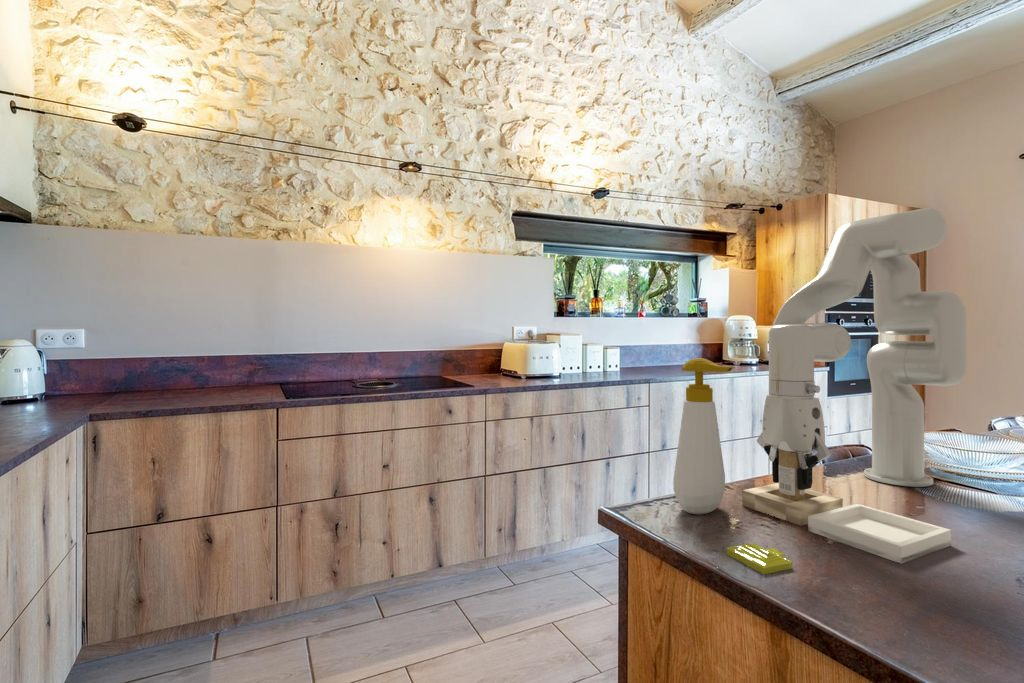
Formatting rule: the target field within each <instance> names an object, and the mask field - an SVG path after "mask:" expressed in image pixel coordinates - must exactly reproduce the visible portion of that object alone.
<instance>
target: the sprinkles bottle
mask: <svg viewBox="0 0 1024 683" xmlns="http://www.w3.org/2000/svg"><path fill="white" fill-rule="evenodd" d="M778 450H779V495H780V496H779V497H782V498H786V499H789V500H792V501H795V502H797V501H801V500H805V490H799V489H798V488H797V469H798V468H801V467H800V462H799V458H798V453H797V451H794V450H792V449H790V448H789V446H788V444H787V443H786V442H784V441H781V442H780V444H779V447H778Z"/></svg>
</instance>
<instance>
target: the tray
mask: <svg viewBox="0 0 1024 683" xmlns="http://www.w3.org/2000/svg"><path fill="white" fill-rule="evenodd" d="M807 527H808V528H807V531H808V532H810V533H813V534H816V535H819V536H820V537H824V538H828V539H830V540H833V541H836V542H839V543H841V544H845V545H846V546H850V547H852V548H856V549H858V550H861V551H864V552H866V553H869V554H872V555H876V556H878V557H881V558H883V559H887V560H890V561H893V562H895V563H899V564H901V565H902V564H906V563H907V562H911V561H913V560H916V559H919V558H921V557H924V556H926V555H929V554H932V553H935V552H938V551H940V550H943V549H945V548H948V547H951V546H952V529H951V528H947V527H946V528H945V527H943V526H939V525H935V524H931V523H928V522H925V521H921V520H918V519H917V520H916V519H913V518H911V517H906V516H903V515H900V514H896V513H891V512H888V511H885V510H882V509H878V508H875V507H871V506H868V505H863V504H860V503H855V504H854V503H853V504H851V505H846V506H843V507H842V508H838V509H834V510H830V511H826V512H823V513H819V514H815V515H811V516H808V524H807Z"/></svg>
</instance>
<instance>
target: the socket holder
mask: <svg viewBox="0 0 1024 683" xmlns="http://www.w3.org/2000/svg"><path fill="white" fill-rule="evenodd" d="M741 492H742V495H741V499H742V503H741V505H742V506H743V507H746V508H747V509H751V510H755V511H756V512H760V513H763V514H765V513H766V515H768V514H769V515H768V516H770V517H771V516H772V517H774V516H775V518H776V519H777V518H778V519H779V520H783V521H785V520H786V522H788V521H789V523H791V524H795V525H798V526H802V527H803V526H806V525H808V516H811V515H815V514H819V513H823V512H826V511H830V510H834V509H838V508H842V507H844V506H843V505H844V504H843V502H844V499H843V497H838V496H835V495H830V494H827V493H824V492H821V491H816V490H812V489H811V488H809V489H805V500H801V501H797V502H795V501H792V500H789V499H786V498H782V497H779V496H780V495H779V483H771V484H767V485H766V484H765V485H761V486H757V487H755V486H754V487H752V488H746V489H742V491H741Z"/></svg>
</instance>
